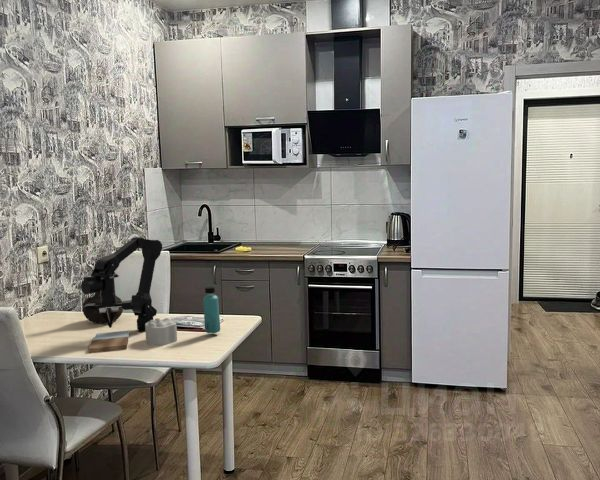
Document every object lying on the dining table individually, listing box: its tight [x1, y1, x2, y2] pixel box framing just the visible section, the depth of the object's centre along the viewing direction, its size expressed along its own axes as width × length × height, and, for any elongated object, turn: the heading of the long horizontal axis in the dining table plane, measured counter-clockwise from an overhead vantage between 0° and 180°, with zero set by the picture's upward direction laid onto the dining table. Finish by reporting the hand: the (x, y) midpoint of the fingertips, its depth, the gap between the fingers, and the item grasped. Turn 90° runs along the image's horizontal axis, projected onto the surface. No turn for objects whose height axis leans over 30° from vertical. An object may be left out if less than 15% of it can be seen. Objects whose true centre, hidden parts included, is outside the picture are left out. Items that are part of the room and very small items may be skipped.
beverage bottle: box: [202, 286, 221, 334], centre depth 238 cm, size 6×7×20 cm
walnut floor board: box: [88, 337, 129, 354], centre depth 228 cm, size 14×12×2 cm
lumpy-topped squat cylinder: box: [144, 317, 178, 347], centre depth 233 cm, size 10×13×9 cm
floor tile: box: [93, 330, 130, 340], centre depth 239 cm, size 13×10×2 cm
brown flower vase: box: [82, 265, 124, 325], centre depth 267 cm, size 18×18×28 cm
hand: (110, 327), depth 236 cm, fingers closed
